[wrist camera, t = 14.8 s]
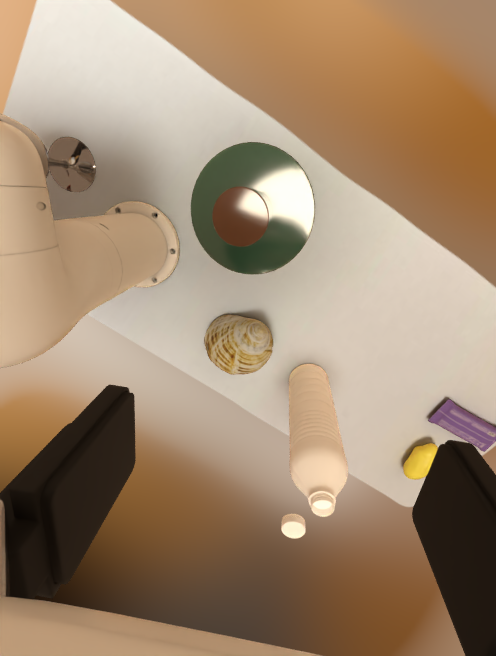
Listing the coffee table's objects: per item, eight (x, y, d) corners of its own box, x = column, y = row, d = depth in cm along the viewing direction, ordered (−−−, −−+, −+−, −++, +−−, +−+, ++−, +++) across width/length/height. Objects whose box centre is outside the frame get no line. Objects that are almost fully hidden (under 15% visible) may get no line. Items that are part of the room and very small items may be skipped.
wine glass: (97, 200, 49) (22, 201, 35) (45, 188, 49) (-50, 185, 35) (99, 140, 46) (17, 115, 32) (44, 127, 46) (-62, 97, 32)
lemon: (393, 463, 60) (400, 480, 56) (422, 433, 57) (431, 449, 53) (412, 473, 60) (420, 491, 56) (442, 443, 57) (453, 460, 53)
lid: (192, 263, 24) (159, 285, 18) (198, 138, 21) (161, 113, 15) (301, 278, 24) (307, 306, 17) (324, 152, 21) (340, 133, 14)
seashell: (192, 343, 55) (193, 345, 45) (231, 300, 56) (241, 294, 46) (236, 383, 56) (247, 395, 46) (274, 341, 57) (292, 343, 47)
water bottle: (307, 355, 54) (322, 473, 31) (336, 379, 55) (371, 511, 32) (272, 388, 57) (261, 519, 34) (300, 411, 58) (308, 552, 35)
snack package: (480, 447, 57) (503, 428, 55) (487, 456, 55) (510, 435, 53) (425, 416, 56) (445, 395, 54) (429, 424, 54) (451, 402, 52)
